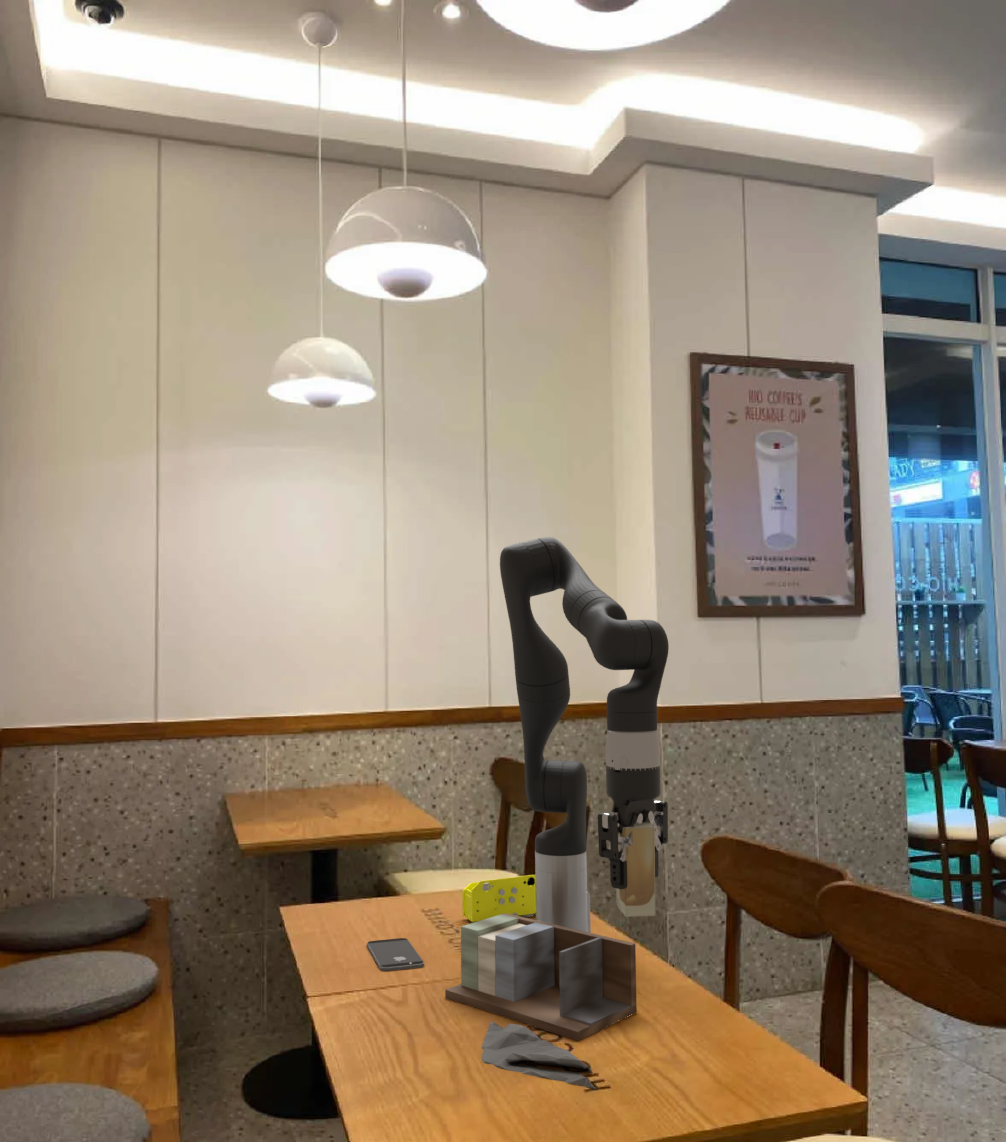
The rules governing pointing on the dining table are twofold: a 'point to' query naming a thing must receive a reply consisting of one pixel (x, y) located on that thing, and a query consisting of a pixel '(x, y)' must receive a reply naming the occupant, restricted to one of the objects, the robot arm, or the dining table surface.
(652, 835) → the skincare box
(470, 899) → the yellow toy chassis
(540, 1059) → the cloth
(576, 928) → the robot arm
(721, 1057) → the dining table surface
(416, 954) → the phone
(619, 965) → the book shelf
